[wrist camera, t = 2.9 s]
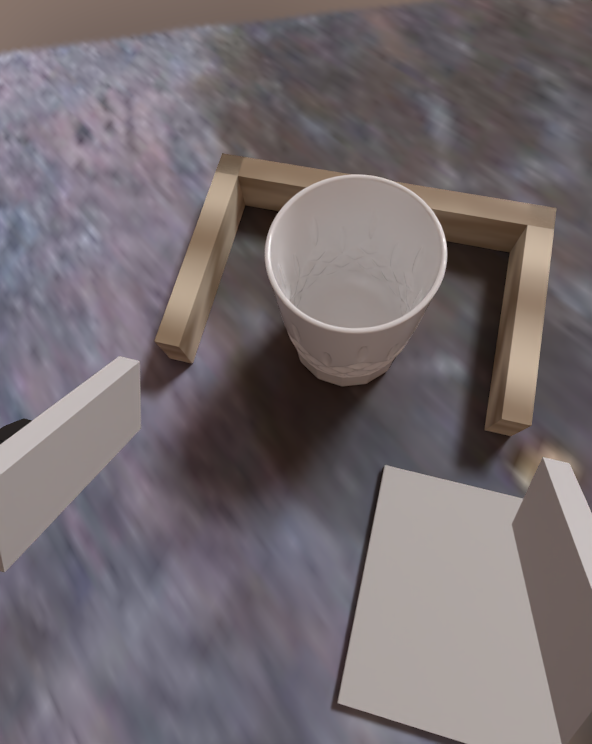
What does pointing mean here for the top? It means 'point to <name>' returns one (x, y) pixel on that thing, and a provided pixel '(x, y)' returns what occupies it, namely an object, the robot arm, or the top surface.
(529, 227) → the frame
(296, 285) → the white cup
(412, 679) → the mat
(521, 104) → the top surface
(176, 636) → the top surface
